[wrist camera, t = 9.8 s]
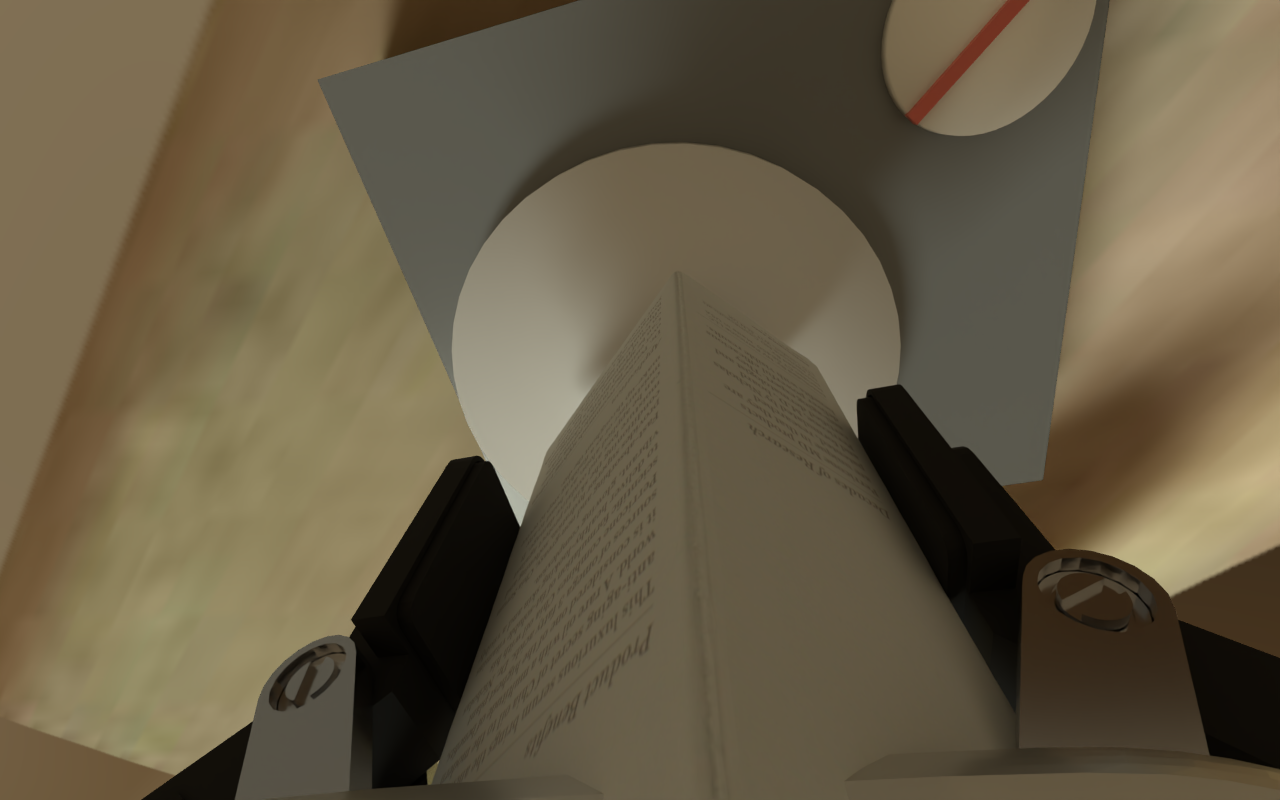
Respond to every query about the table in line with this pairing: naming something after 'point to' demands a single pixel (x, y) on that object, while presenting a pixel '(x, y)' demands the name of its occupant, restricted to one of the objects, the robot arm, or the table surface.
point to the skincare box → (715, 590)
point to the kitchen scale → (742, 198)
